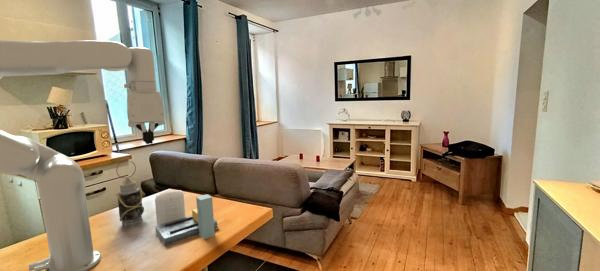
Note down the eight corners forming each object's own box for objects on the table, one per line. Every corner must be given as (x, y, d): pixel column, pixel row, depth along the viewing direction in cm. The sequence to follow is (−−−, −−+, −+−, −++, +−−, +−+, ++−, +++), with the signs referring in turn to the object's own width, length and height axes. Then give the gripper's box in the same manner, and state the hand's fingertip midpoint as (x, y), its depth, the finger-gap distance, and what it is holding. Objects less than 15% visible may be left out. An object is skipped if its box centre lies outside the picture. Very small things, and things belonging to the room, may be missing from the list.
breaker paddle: (197, 222, 100) (196, 213, 100) (192, 218, 104) (192, 209, 104) (205, 220, 102) (205, 211, 102) (200, 215, 106) (200, 207, 105)
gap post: (203, 239, 94) (200, 200, 92) (199, 235, 97) (196, 196, 95) (214, 235, 96) (212, 197, 94) (210, 231, 99) (207, 194, 98)
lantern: (139, 216, 113) (132, 157, 110) (149, 221, 109) (142, 159, 105) (115, 225, 106) (107, 161, 102) (125, 230, 101) (117, 164, 98)
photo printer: (184, 216, 113) (181, 186, 111) (186, 219, 109) (184, 189, 108) (156, 222, 107) (153, 192, 106) (157, 227, 104) (154, 195, 102)
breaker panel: (165, 245, 90) (164, 237, 90) (156, 232, 99) (155, 224, 99) (217, 228, 102) (217, 220, 101) (205, 217, 111) (204, 210, 110)
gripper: (117, 87, 82) (124, 147, 84) (171, 87, 91) (175, 141, 94) (114, 88, 88) (120, 145, 90) (164, 88, 97) (169, 139, 100)
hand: (148, 143), depth 92 cm, fingers closed
